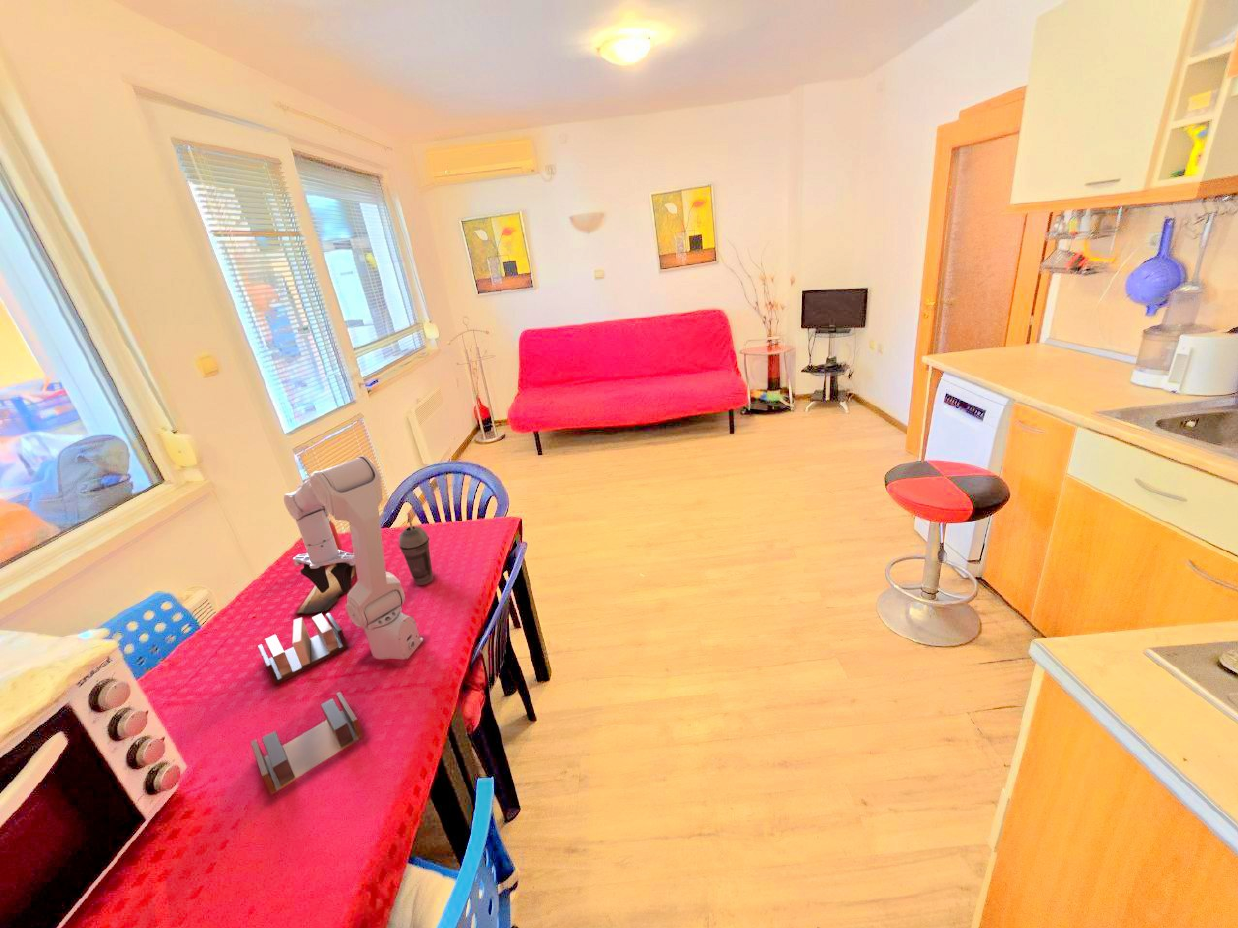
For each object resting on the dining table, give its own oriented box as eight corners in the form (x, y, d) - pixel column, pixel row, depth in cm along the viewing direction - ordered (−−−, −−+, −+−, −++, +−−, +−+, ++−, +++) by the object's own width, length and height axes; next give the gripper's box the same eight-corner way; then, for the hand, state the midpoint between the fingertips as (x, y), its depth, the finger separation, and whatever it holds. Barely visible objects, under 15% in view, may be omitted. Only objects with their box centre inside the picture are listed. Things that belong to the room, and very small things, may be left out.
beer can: (322, 555, 149) (309, 520, 144) (346, 550, 151) (334, 515, 146) (316, 567, 143) (303, 530, 139) (342, 561, 145) (329, 525, 140)
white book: (310, 638, 112) (301, 616, 110) (310, 663, 105) (301, 640, 103) (302, 641, 112) (293, 619, 109) (301, 666, 104) (292, 643, 102)
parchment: (332, 562, 144) (331, 560, 144) (367, 557, 145) (366, 554, 145) (292, 619, 121) (291, 616, 121) (335, 611, 122) (333, 609, 122)
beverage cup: (429, 569, 137) (412, 503, 130) (444, 577, 133) (427, 510, 125) (404, 582, 132) (385, 514, 125) (418, 591, 128) (399, 522, 120)
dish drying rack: (335, 629, 116) (327, 608, 114) (348, 647, 110) (340, 625, 108) (265, 664, 107) (255, 641, 105) (275, 685, 101) (265, 662, 99)
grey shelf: (348, 711, 93) (340, 691, 92) (365, 739, 87) (357, 718, 85) (260, 763, 85) (250, 741, 83) (272, 799, 78) (262, 776, 77)
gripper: (275, 548, 109) (295, 600, 114) (337, 548, 107) (354, 601, 112) (298, 532, 115) (316, 582, 120) (356, 531, 113) (372, 582, 118)
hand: (336, 590), depth 116 cm, fingers open, 5 cm apart
